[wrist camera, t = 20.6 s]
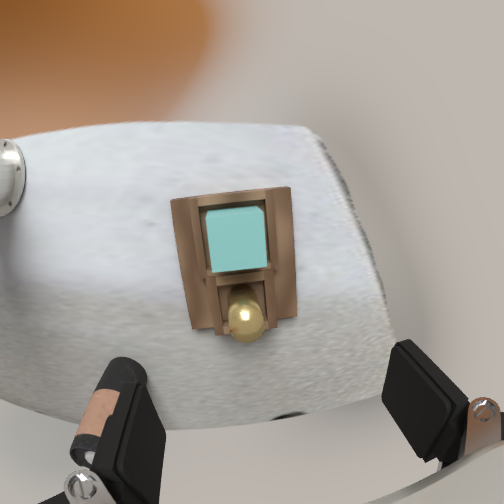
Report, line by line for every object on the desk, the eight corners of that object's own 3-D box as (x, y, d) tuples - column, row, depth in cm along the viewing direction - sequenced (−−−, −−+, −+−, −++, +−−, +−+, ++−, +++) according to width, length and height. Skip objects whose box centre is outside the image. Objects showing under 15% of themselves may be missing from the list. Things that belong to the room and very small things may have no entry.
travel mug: (142, 354, 42) (111, 451, 23) (153, 389, 45) (134, 482, 25) (101, 355, 42) (58, 442, 23) (114, 388, 44) (84, 474, 25)
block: (213, 256, 37) (212, 272, 31) (208, 210, 36) (205, 217, 30) (259, 251, 38) (267, 266, 32) (256, 205, 36) (263, 212, 30)
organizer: (193, 323, 42) (191, 337, 38) (172, 199, 37) (167, 202, 33) (293, 310, 43) (300, 323, 39) (286, 186, 38) (294, 188, 34)
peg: (228, 312, 40) (231, 344, 32) (225, 285, 38) (227, 313, 31) (257, 309, 40) (266, 340, 32) (255, 282, 39) (264, 309, 31)
